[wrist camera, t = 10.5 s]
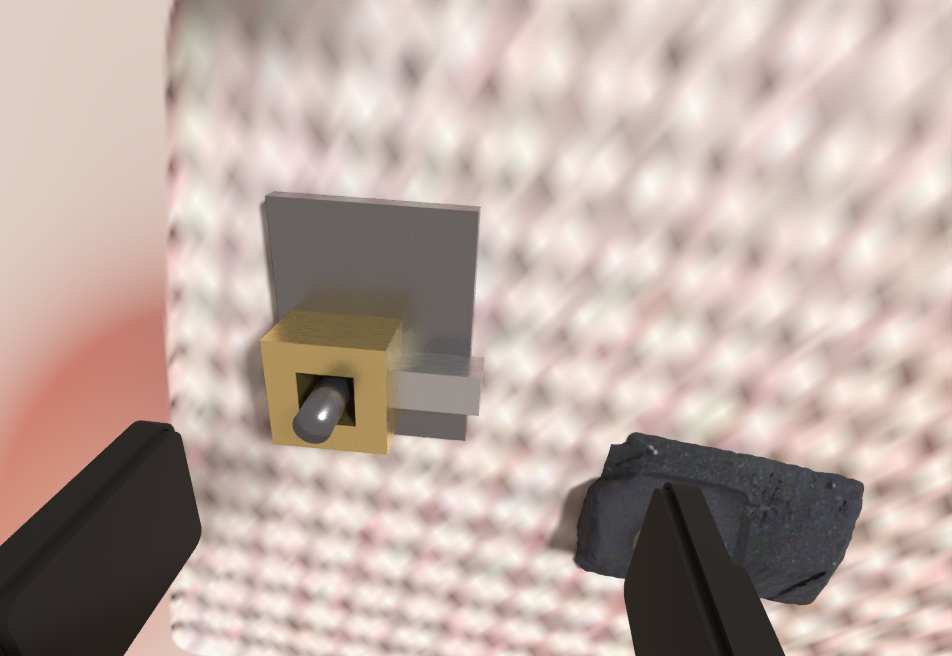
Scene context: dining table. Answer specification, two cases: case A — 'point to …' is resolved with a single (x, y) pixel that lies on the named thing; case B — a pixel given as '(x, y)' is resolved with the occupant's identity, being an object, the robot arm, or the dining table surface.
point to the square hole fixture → (373, 316)
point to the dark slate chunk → (726, 513)
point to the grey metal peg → (323, 408)
